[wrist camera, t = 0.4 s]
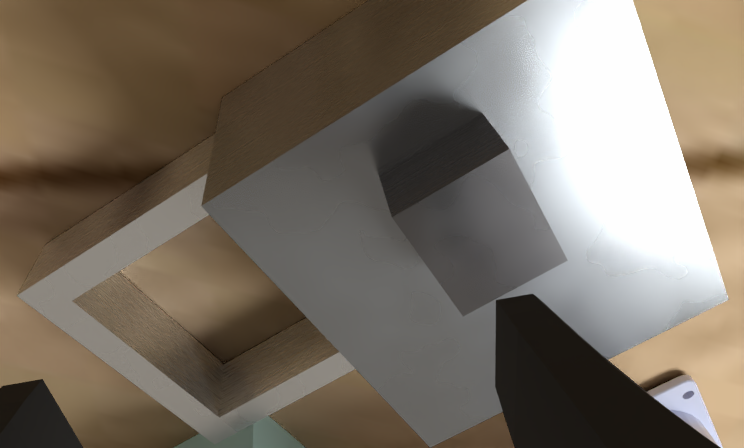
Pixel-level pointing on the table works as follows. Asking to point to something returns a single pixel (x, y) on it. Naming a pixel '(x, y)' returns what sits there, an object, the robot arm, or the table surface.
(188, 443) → the mint cube
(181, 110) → the table surface
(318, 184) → the silver box with frame
